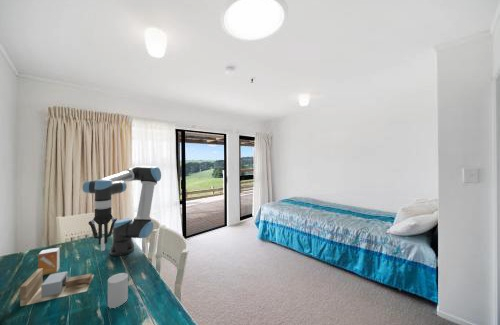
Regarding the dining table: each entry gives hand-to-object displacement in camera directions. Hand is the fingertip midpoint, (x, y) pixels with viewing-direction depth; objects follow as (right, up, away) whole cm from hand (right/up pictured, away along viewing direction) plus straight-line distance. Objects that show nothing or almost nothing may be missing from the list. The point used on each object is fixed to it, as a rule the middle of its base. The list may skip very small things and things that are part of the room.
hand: (103, 249), depth 111 cm
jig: (-16, -18, -8) cm, 25 cm away
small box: (-39, -18, +9) cm, 44 cm away
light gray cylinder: (+18, -19, -15) cm, 30 cm away
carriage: (-18, -17, -9) cm, 26 cm away
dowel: (-10, -17, -4) cm, 20 cm away
